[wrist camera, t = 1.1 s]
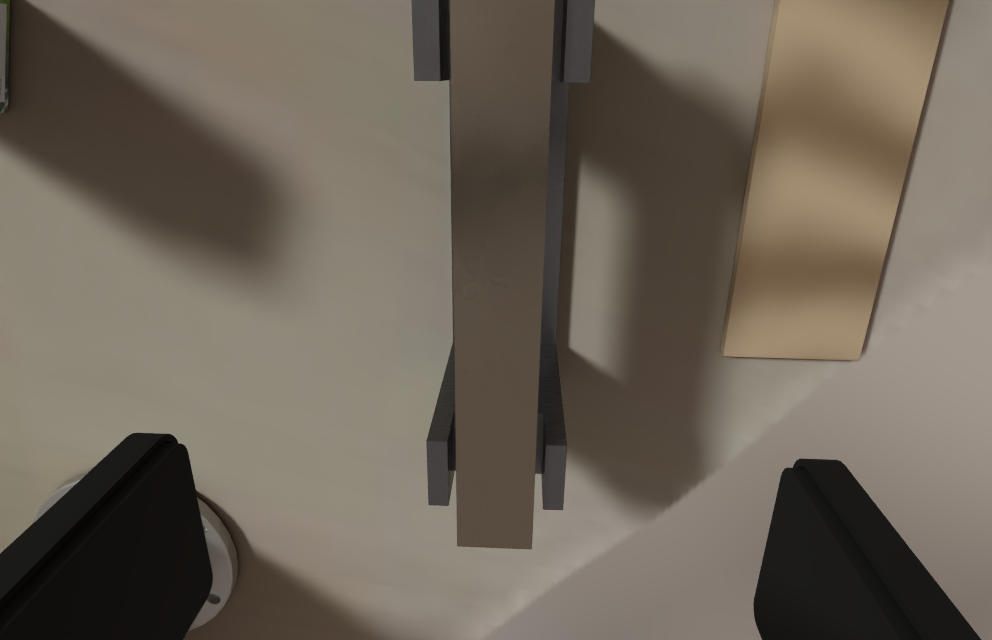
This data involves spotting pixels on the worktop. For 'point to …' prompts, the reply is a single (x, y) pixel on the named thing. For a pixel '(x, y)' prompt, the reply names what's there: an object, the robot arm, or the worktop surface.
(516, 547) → the rail
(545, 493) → the rack
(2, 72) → the syrup box
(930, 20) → the mat
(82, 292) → the worktop surface
